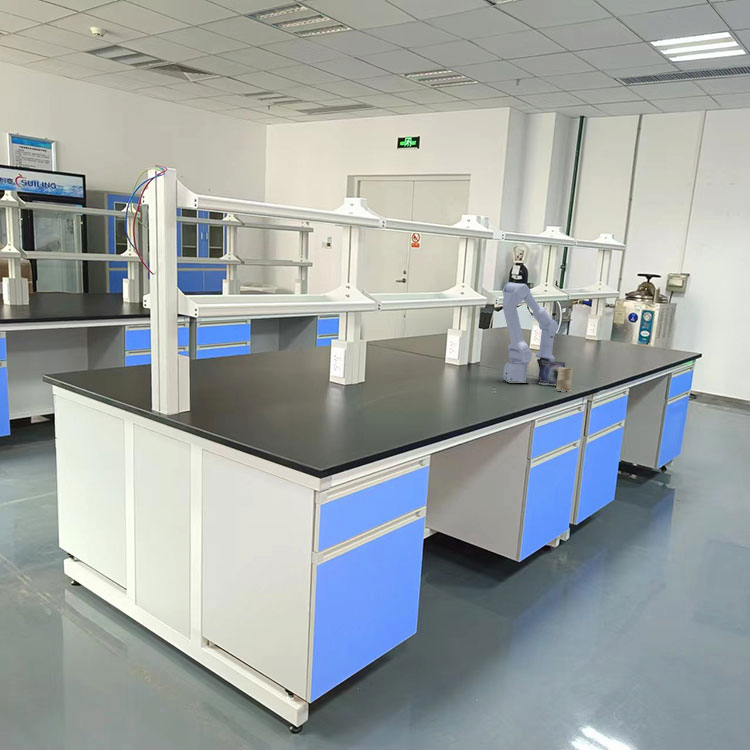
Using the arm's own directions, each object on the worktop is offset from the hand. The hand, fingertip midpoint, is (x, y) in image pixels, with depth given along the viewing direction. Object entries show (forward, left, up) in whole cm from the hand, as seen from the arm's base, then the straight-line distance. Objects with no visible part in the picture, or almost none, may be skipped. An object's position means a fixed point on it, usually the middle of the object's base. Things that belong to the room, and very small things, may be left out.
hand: (542, 375), depth 294 cm
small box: (0, -7, -3) cm, 8 cm away
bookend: (0, -20, -3) cm, 20 cm away
